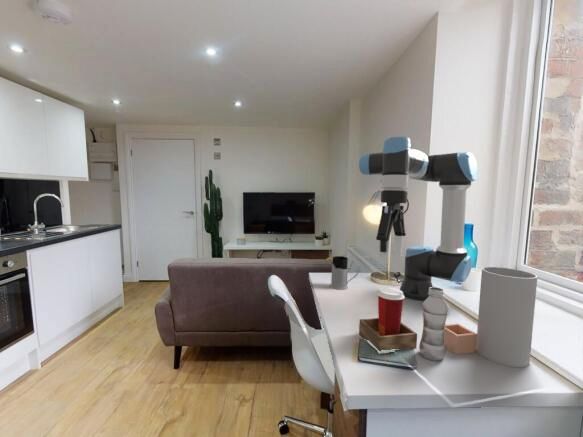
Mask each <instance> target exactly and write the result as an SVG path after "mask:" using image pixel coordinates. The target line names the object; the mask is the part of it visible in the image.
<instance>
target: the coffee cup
mask: <svg viewBox="0 0 583 437" xmlns="http://www.w3.org/2000/svg"><path fill="white" fill-rule="evenodd" d="M376 294H377V296H378V297H377V299H378V300H377V302H378V304H377V306H378V308H377V309H378V310H377V311H378V312H377V314H378V317H377V318H378V322H379V335H380V336H388V335H398V334H399V331H400V323H402V321H401V320H402V315H403V306H404V299H405V298H406V297H404V295H403V292H402V291H401V290H400V289H398V288H394V287H381V288H379V289H378V291H377V292H376Z"/></svg>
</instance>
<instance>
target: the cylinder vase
mask: <svg viewBox="0 0 583 437" xmlns="http://www.w3.org/2000/svg"><path fill="white" fill-rule="evenodd" d="M537 285H538V275H537V274H535V273H533V272H530V271H525V270H522V269H515V268H511V267H510V268H508V267H502V266H484V267H481V278H480V287H479V288H480V290H479V291H480V292H479V303H478V315H477V316H478V317H477V329H476V330H477V331H476V333H477V346H476V352H478V354H479V355H481V356H482V357H483V358H485V359H487V360H489V361H491V362H493V363H496V364H499V365H502V366H504V367H505V366H506V367H510V368H526V367H528V366H529V365H530V362H531V353H532V352H531V351H532V341H533V340H532V339H533V330H534V329H533V328H534V318H535V307H536V297H537Z"/></svg>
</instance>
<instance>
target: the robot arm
mask: <svg viewBox="0 0 583 437" xmlns="http://www.w3.org/2000/svg"><path fill="white" fill-rule="evenodd" d="M411 147H412V145H411V139H410V138H409V137H407V136H392V137H388V138H386V139H385V140H384V142H383V147H382V148H383V149H382V152H375V153H371V152H370V153H367V154H366V153H365V154H363V155H361V156H360V158H359V161H358V169H359V172H360V174H362V175H365V176H372V175H377V176H378V175H380V176H381V179H380V181H379V182H380V183H381V189H383V190H382V191H380V202H381V204H382V203H383V204H384V203H385V204H386V205H382V208H381V216H380V220H379V223H378V224H379V225H378V228H377V229H378V230H377V233H376V237H375V238H376V239H375V240H376V241H379V246H378V263H381V264H385V265H387V264H388V265H389V263H390V262H389V261H390V247H391V245H390V244H391V241H390V236H391V234H392V230H393V232H394V235H393V238H392V239H393V240H392V241H393V242H392V256H393V257H394V256H396V257H402V256H403V255H402V254H403V237H405V236H407V235H406V234H407V232H406V230H405V218H404V205H401V204H406V203H408V190H407V189H409V179H411V180H418V181H423V182H432V183H438V186H439V188H440V189H441V190H442V200H441V201H442V205H441V226H440V228H441V229H440V242H439V243H440V245H439V246H437V247H436V250H435V251H434V249H435V248H434V247H432V246H411V247H407V248H406V250H405V254H404V255H405V256H404V258H405V259H404V275H403V276H404V277H403V280H402V282H401V285H400V287H399V290H401V291H402V292H403V295H404V297H405V298H406V299H409V300H414V301H419V302H424V301H425V300H426V299H427V298H428V297H429V295H428V292H429V288H430V287H434V286H433V282H432V278H434V279H435V278H436V279H439V280H445V281H450V282H454V283H459V284H461V283H464V282H466V280H467V279H468V278H469V276H470V273H471V270H472V267H473V266H472V265H473V258H472V256H469V255H468V251H467V249H466V247H464V244H465V243H464V238H465V224H466V223H465V222H466V205H467V204H466V202H467V190H468V189H469V188H471V187H472V182H474V181H476V180H477V179H478V164H477V160H476V157H475V156H474V155H473V153H471V152H468V151H467V152H464V151H463V152H453V153H452V152H451V153H443V154H442V153H441V154H432V155H431V154H430V155H427V154H426V153H425V152H424V151H421V150H420V149H416V148H415V149H414V148H411Z"/></svg>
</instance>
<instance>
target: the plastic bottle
mask: <svg viewBox="0 0 583 437" xmlns="http://www.w3.org/2000/svg"><path fill="white" fill-rule="evenodd" d="M444 292H445V291H444V289H443V288H440V287H437V286H436V287H435V286H433V287H430V288H429V292H428V295H429V297H428V298H427V299H426V300H425V301H423V303H422V319H423V322H422V323H423V324H422V332H421V333H422V334H421V339H420V342H419V346H418V347H419V348H418V349H419V352H420V354H421V356H422V357H423V358H424V359H427V360H428V361H433V362H440V361H442V360H444V357H445V355H446V347H445V345H444V330H445V329H444V328H445V325H446V321H447V317H448V314H449V307H448V305H447V302H445V299H444V297H445V295H444Z"/></svg>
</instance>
